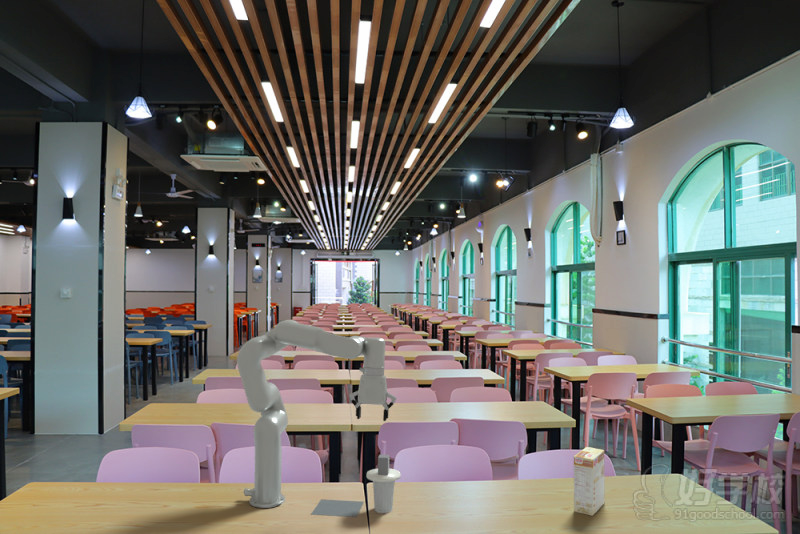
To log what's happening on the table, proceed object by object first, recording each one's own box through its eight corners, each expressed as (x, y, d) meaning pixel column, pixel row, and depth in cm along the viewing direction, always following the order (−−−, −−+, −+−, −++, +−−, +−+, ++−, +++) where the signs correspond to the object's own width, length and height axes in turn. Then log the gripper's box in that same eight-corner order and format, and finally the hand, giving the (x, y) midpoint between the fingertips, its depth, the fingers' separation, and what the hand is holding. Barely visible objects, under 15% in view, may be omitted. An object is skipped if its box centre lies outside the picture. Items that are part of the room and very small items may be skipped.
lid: (363, 481, 196) (363, 460, 196) (369, 470, 208) (370, 450, 208) (398, 483, 195) (398, 462, 195) (402, 471, 207) (402, 452, 207)
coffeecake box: (586, 498, 214) (586, 446, 215) (605, 503, 210) (605, 449, 211) (572, 511, 202) (572, 455, 203) (593, 516, 198) (593, 459, 199)
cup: (392, 516, 196) (392, 480, 197) (369, 514, 198) (370, 479, 198) (396, 507, 204) (397, 473, 204) (375, 505, 206) (375, 471, 206)
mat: (310, 515, 196) (310, 514, 196) (321, 500, 210) (321, 499, 210) (356, 518, 194) (356, 517, 194) (364, 503, 208) (364, 501, 208)
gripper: (348, 371, 205) (346, 419, 205) (395, 374, 203) (393, 423, 202) (352, 369, 213) (350, 415, 212) (398, 371, 210) (397, 418, 209)
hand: (371, 419), depth 207 cm, fingers open, 9 cm apart
